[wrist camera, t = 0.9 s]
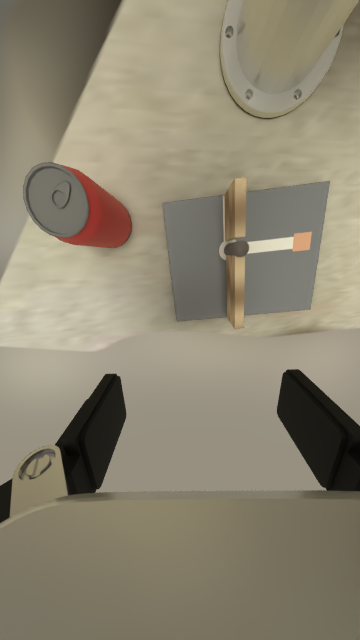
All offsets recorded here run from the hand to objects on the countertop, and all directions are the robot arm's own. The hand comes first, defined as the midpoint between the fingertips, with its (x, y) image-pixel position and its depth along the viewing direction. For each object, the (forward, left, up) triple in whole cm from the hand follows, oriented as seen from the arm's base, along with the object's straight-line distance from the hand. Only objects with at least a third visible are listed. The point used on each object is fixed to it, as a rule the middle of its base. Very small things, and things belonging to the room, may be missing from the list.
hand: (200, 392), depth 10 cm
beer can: (-4, -16, -22) cm, 27 cm away
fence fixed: (-13, -2, -20) cm, 24 cm away
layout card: (-10, +3, -21) cm, 24 cm away
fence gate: (-6, +3, -20) cm, 21 cm away
